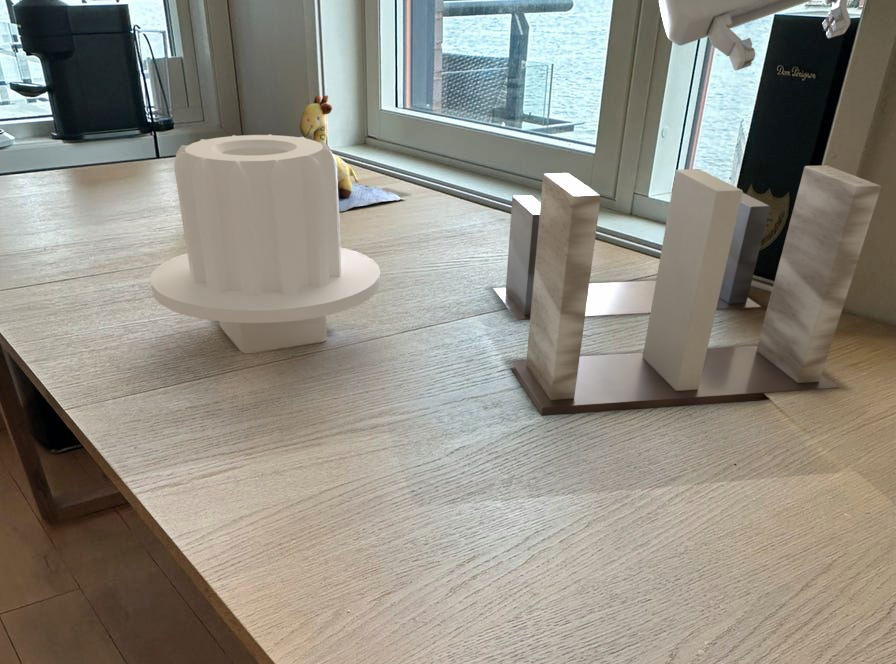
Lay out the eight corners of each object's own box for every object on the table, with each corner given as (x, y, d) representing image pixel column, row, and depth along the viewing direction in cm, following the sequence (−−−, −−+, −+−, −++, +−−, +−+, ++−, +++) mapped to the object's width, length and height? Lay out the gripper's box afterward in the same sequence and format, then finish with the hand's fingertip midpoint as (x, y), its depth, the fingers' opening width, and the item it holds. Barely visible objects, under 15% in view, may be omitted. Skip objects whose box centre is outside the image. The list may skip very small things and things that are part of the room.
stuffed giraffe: (268, 196, 150) (263, 89, 140) (350, 185, 160) (351, 85, 149) (321, 218, 141) (320, 105, 131) (405, 206, 151) (410, 100, 140)
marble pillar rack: (778, 351, 96) (831, 161, 84) (836, 394, 87) (905, 189, 75) (509, 367, 91) (525, 170, 80) (541, 415, 82) (564, 201, 70)
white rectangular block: (663, 356, 92) (699, 168, 81) (698, 389, 85) (743, 190, 74) (642, 357, 92) (675, 169, 80) (675, 391, 85) (717, 191, 74)
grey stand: (717, 283, 115) (739, 185, 107) (760, 313, 105) (787, 208, 98) (492, 294, 110) (498, 193, 103) (516, 326, 101) (525, 218, 94)
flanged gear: (192, 392, 86) (157, 183, 74) (141, 315, 103) (106, 135, 91) (417, 354, 94) (419, 160, 82) (334, 288, 112) (326, 120, 100)
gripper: (648, -78, 79) (699, 60, 78) (859, -152, 79) (912, -14, 78) (632, -23, 85) (679, 105, 84) (828, -90, 85) (876, 37, 84)
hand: (792, 47), depth 81 cm, fingers open, 8 cm apart
